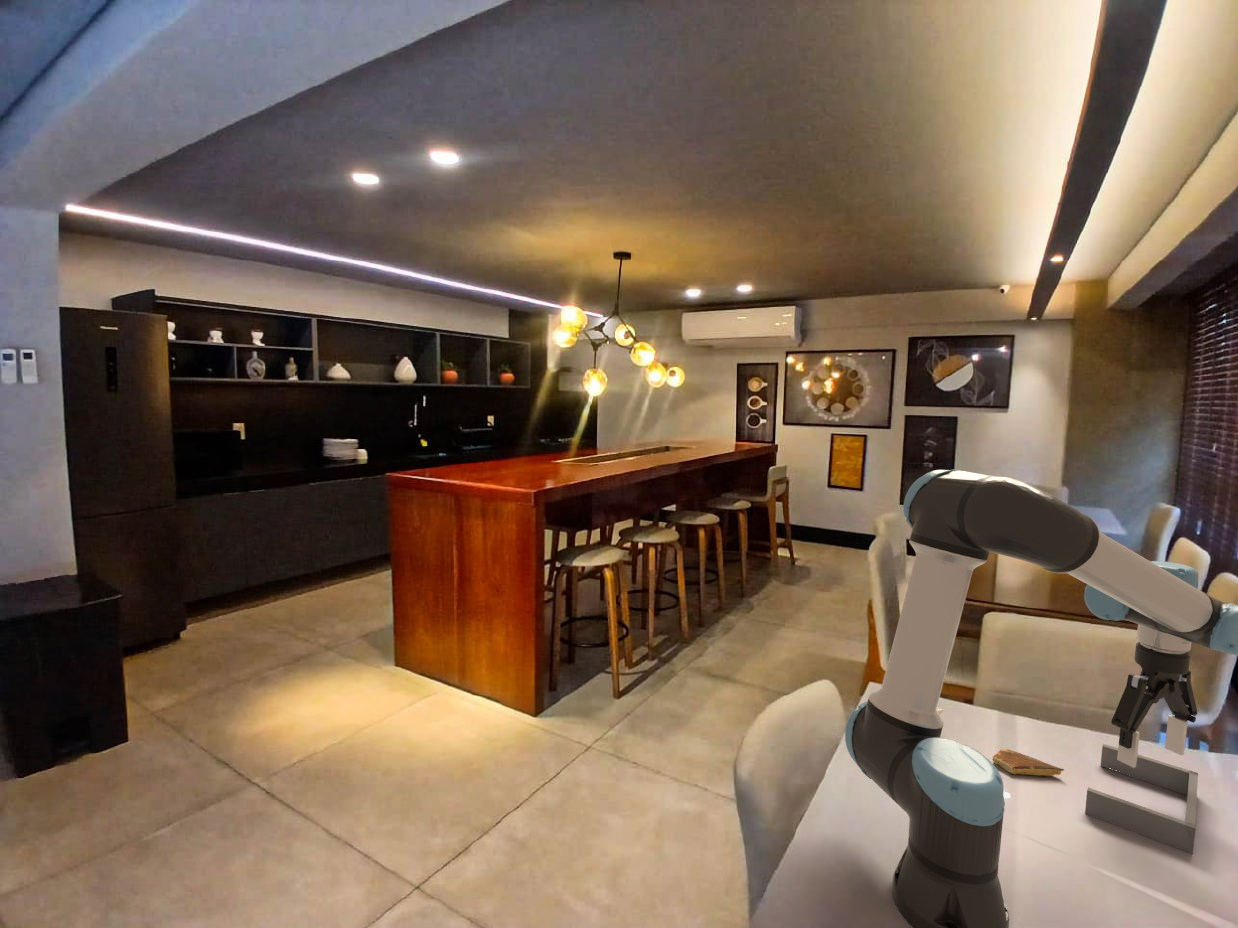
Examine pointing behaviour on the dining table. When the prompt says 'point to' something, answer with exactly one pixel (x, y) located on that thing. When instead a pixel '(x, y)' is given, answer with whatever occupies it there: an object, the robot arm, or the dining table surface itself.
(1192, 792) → the box
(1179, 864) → the dining table surface
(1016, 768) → the shard
